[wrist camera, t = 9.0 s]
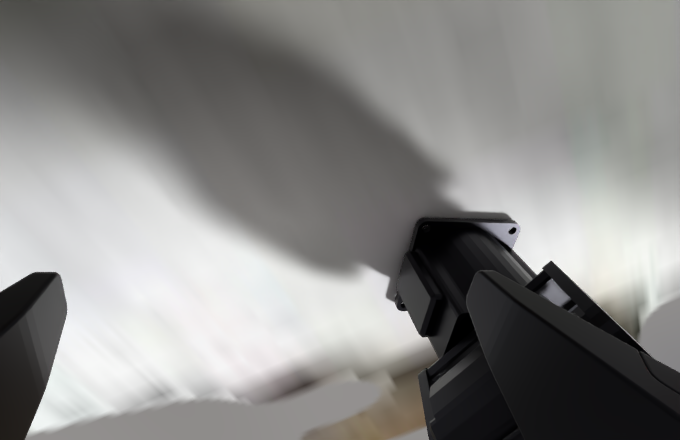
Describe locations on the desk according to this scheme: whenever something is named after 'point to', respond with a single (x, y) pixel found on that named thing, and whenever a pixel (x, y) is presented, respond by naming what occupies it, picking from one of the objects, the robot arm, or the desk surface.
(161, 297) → the desk surface
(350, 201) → the desk surface
